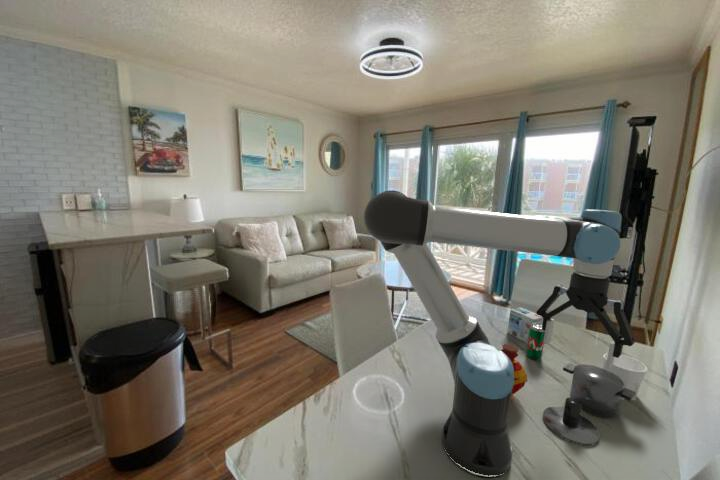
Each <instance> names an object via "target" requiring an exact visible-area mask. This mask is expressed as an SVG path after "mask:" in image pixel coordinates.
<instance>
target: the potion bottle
mask: <svg viewBox="0 0 720 480" xmlns="http://www.w3.org/2000/svg"><path fill="white" fill-rule="evenodd" d="M501 351H502V352H504V353H505V354H506V355H507V356H508V357H509V359H510V360H511V362H512V364H513V368H514V386H513V389H512V395H511V401H512V400H514V399H515V397H514V394H516V393H518V392H519V391H521V389H522V388H524V387H525V384H526V382H527V383H528V374H527V372H526V370H525V368H524V366H523V365H522V364H521V362H520V361H518V360H516V358H517V357H519V353H518V351H519V349H518V347H517V346H515V345H513V344H510V343H504V344H502V349H501Z"/></svg>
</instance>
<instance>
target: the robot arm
mask: <svg viewBox="0 0 720 480" xmlns="http://www.w3.org/2000/svg"><path fill="white" fill-rule="evenodd" d="M622 218H623V217H622V214H621V213H620V212H619V211H615V210H604V209H589V208H587V209H584V210H583V211H582V212H581V215H580V216H578V217H575V216H574V217H571V216H561V215H560V216H557V215H546V214H543V215H539V214H538V215H537V214H536V215H523V214H513V213H501V212H494V211H485V210H473V209H466V208H455V207H445V206H436V205H433V203H432V202H431V201H430V200H427V199H418V198H417V199H416V198H413V197H410V196H409V197H408V196H407V195H406V194H404V193H403V192H402V191H401V192H400V191H398V190H385V191H382V192H380V193H378V194H376V195H375V196H373V197H372V198H371V199H370V200H369V201H368V203H367V205H366V206H365V209H364V213H363V222H364V226H365V228H366V230H367V232H368V233H369V235H371V236H372V237H373V238H374V239H376V240H378V241H380V244H381V245H382V246H383V248H384V250H385V252H388V253H391V254H393V255H394V256H395V258H396V260H397V262H398V263H399V265H400V267H401V268H402V270H403V271H404V273H405V275H406V277H407V279H408V280H409V282H410V284H411V285H412V287H413V289H414V291H415V292H416V294H417V296H418V299H420V301H421V304H422V305H423V307H424V308H425V310H426V312H427V313H428V316H429V317H430V318H431V320H432V322H433V324H434V325H435V327H436V332H435V339H436V341H437V342H438V344H439V346H440V348H441V349H442V351H443V352H444V354H445V356H446V358H447V361H448V363H449V367H450V371H451V374H452V378H453V381H454V382H453V383H454V389H453V390H454V392H453V399H452V400H453V401H452V410H451V411H450V413H449V416H448V417H447V419H446V420H445V423H444V425H443V427H442V431H441V432H442V434H441V444H442V443H443V445H442V447H443V446H444V448H445V450H446V452H447V453H448V454H449V456H450V457H451V458H452V459H453V460H454V461H455V462H456V463H458V464H460V465H461V466H462V467H465V468H466V469H468V470H470V471H473V472H475V473H479V474H483V475H488V476H489V475H500V474H503V473H505V472H506V471H507V470H508V469H509V470H510V468H511V466H510V465H512V461H513V460H512V459H513V448H512V445H511V439H510V435H509V432H508V422H509V421H508V420H509V415H510V408H511V401H512V400H511V395H513V394H512V389H513V386H514V368H513V364H512V362H511V360H510V359H509V357H508V356H507V355H506V354H505V353H504V352H502V351H501V350H502V349H501V350H500V349H499V350H498V348H497V347H495V346H494V345H491V343H490V340H489V338H488V337H487V334H486V333H485V331H483V329H482V327H481V326H480V323H479V322H478V321H477V318H476V317H475V316H473V315H471V314H467V313H466V311H465V309H464V307H463V306H462V304H461V301H460V300H459V298H458V297H457V295H456V293H455V291H454V290H453V287H452V285H451V284H450V282H449V280H448V279H447V277H446V275H445V273H444V272H443V270H442V268H441V267H440V264H439V263H438V261H437V260H436V257H435V256H434V254H433V252H432V251H431V248H429V247H430V246H428V244H429V243H438V244H446V245H456V246H465V247H474V248H482V249H493V250H501V251H509V252H519V253H526V254H527V253H528V254H538V255H544V256H554V257H558V258H568V259H573V262H572V263H573V264H572V270H573V271H572V272H571V274H570V275H571V276H570V280H569V286H568V288H566V287H564V286H563V285H562V284H558V285H556V286H554V288H553V290H552V293H551V295H550V296H549V297H548V298H547V299H546V300H545V302H544V303H542V305H541V306H540V307H539V308H538V309H537V310H536V314H537V315H540V316H542V317H543V324H542V330H544V331H545V336H544V342H543V344H544V345H548V344H550V343H551V342H552V336H553V332H554V331H553V330H554V323H555V319H553V317H554V316H556V315H558V314H559V313H561V312H563V311H565V310H567V309H568V308H570V307H573V308H574V309H576V310H579V311H583V312H586V313H589V314H591V313H593V314H594V316H595V317H597V318H598V320H599V321H600V323H601V324H602V326H603V327H604V329H605V330H606V332H607V333H608V334H609V336H610V337H611V339H612V341H611V342H610V343H609V348H608V351H607V353H608V357H607V361H606V366H605V369H607V370H610V369H611V368H612V367H613V362H614V357H616V358H618V357H619V356H620V355H621V354H622V353H623V352H622V351H623V349H624V346H628V347H632V346H633V345H634V344H635V343H636V339H635V337H634V334H633V331H632V330H631V326H630V323H629V322H628V319H627V316H626V314H625V312H624V301H623V300H622V299H617V300H614V299H609V298H608V293H609V292H608V291H609V287H610V283H611V279H610V278H609V277H610V276H611V275H612V273H613V272H612V271H613V267H614V262H615V257H616V256H617V255H618V253H619V251H620V248H621V239H620V234H621V232H622V230H621V228H622ZM564 294H566V296H567V298H568V300H567V301H565V302H564V303H562V304H560V305H559V306H558V307H556V308H554V309H553V310H551V311H549V312H547V311H548V309H549V308H550V307H551V306H552V305H553V304H554V303H555V302H556V301H557V300H558V299H559V298H560V296H562V295H564ZM605 306H609V307H610V309H611V310H613V314H614V316H615V319H616V322H617V325H618V327H619V330H620V331H619V330H618V328H617V327H616V325H615V323H614V322H613V321H612V319H611V318H610V316H609V314H608V313H607V311H606V309H605V308H604V307H605ZM620 332H621V333H620ZM444 448H443V449H444ZM445 450H444V451H445ZM446 452H445V453H446ZM509 467H510V468H509ZM509 470H508V471H509ZM508 471H507V472H508ZM507 472H506V473H507ZM506 473H505V474H506Z"/></svg>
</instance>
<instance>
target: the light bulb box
mask: <svg viewBox="0 0 720 480" xmlns="http://www.w3.org/2000/svg"><path fill="white" fill-rule="evenodd" d="M531 324H540V325H542V324H543V317H542V316H540V315H537V313H535V312H533V311H531V310H528V309H526V308H523V307H517V308H511V309H510V311H509V318H508V326H507V330H506V331H507V333H508V334H509V335H511V336H512V337H514V338H516V339H518V340H520V341H522V342H524V343H525V344H527V341H528V334H529V327H530V326H531Z"/></svg>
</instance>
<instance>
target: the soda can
mask: <svg viewBox="0 0 720 480" xmlns="http://www.w3.org/2000/svg"><path fill="white" fill-rule="evenodd" d="M544 336H545V331H544V330H542V325H540V324H531V326H530V327H529V334H528V341H527V343H526V348H525V349H526V350H525V355H526V357H527V358H528V359H531V360H535V361H539V360H541V359H542V358H543V351H544V345H545V344H543V342H544Z"/></svg>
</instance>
